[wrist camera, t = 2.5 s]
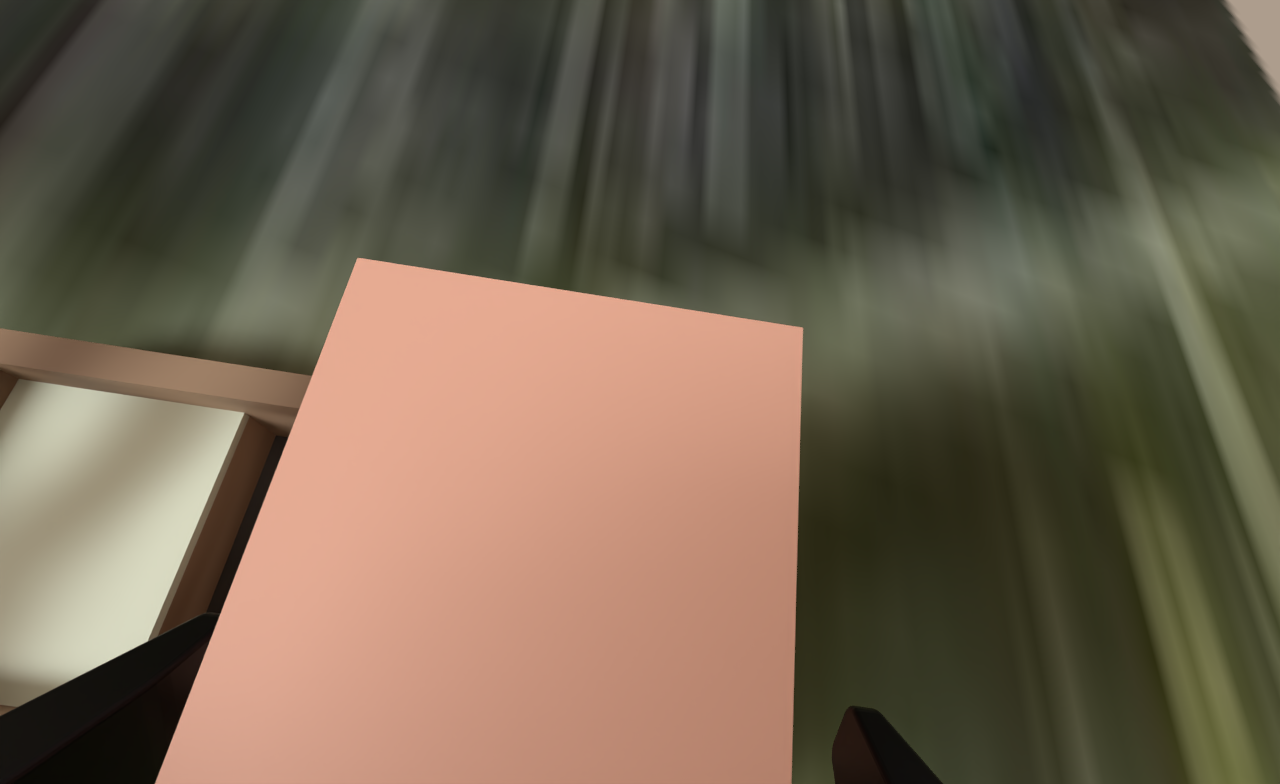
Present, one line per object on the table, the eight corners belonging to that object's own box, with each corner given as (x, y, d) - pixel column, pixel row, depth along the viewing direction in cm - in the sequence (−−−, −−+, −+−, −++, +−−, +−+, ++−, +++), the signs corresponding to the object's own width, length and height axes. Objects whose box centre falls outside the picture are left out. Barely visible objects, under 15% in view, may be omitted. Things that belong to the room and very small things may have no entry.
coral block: (668, 529, 18) (801, 327, 7) (646, 722, 16) (788, 872, 5) (497, 504, 18) (357, 257, 7) (454, 695, 16) (153, 786, 5)
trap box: (719, 474, 21) (744, 441, 18) (692, 826, 17) (717, 867, 13) (63, 376, 20) (-35, 323, 17) (-130, 714, 16) (-307, 729, 13)
